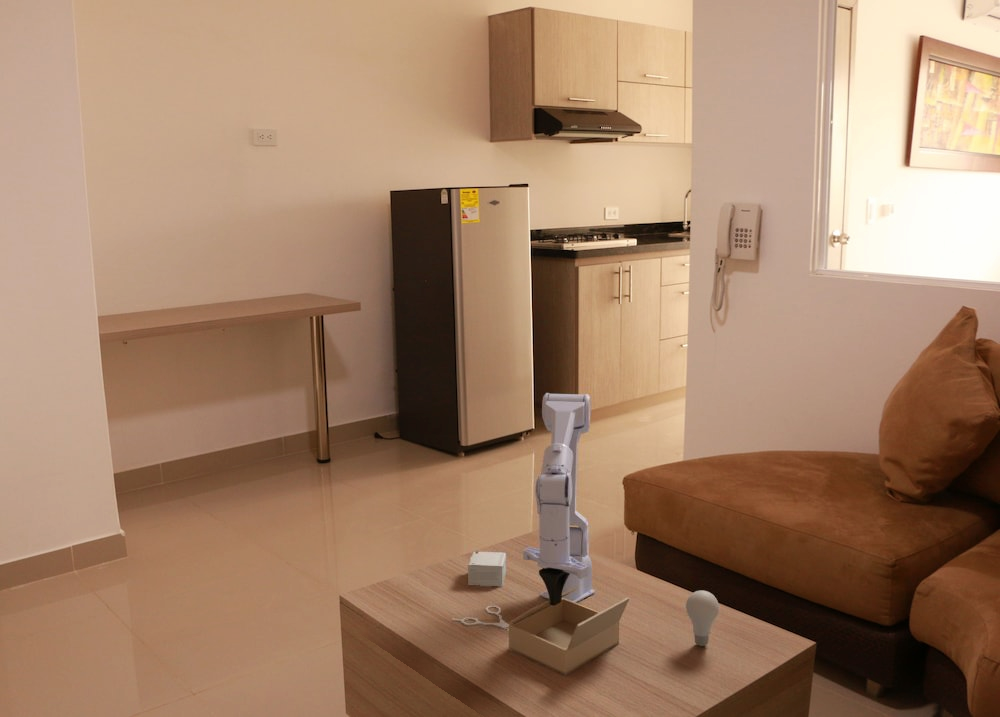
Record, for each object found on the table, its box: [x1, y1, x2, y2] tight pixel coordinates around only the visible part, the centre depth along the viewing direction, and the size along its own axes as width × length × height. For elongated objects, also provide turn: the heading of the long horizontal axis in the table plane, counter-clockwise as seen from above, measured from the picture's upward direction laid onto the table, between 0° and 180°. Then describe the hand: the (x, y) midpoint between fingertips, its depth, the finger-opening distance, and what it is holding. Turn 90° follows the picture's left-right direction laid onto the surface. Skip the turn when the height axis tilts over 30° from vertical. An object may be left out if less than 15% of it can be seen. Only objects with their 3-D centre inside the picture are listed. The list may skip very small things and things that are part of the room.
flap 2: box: [567, 596, 630, 651], centre depth 165 cm, size 15×6×1 cm
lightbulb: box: [685, 589, 720, 648], centre depth 170 cm, size 6×6×11 cm
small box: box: [467, 551, 507, 588], centre depth 202 cm, size 8×8×5 cm
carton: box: [508, 598, 620, 677], centre depth 171 cm, size 16×14×5 cm
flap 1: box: [509, 585, 579, 625], centre depth 174 cm, size 15×6×1 cm
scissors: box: [451, 605, 510, 632], centre depth 180 cm, size 11×1×20 cm
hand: (555, 603), depth 172 cm, fingers closed, pressing on flap 1
